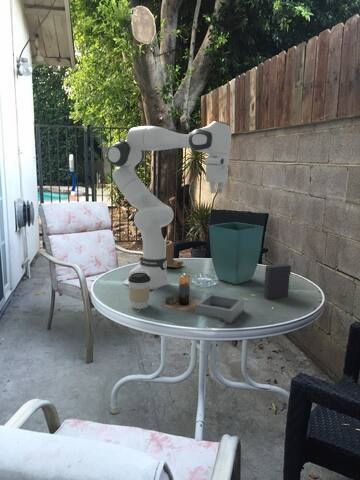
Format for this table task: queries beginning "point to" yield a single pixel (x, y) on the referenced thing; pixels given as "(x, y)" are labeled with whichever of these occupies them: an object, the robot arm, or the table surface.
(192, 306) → the plate
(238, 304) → the bin
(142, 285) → the coffee cup
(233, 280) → the flower pot
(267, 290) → the grey box
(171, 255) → the wooden bookend
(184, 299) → the battery cell
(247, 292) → the table surface
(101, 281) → the table surface
